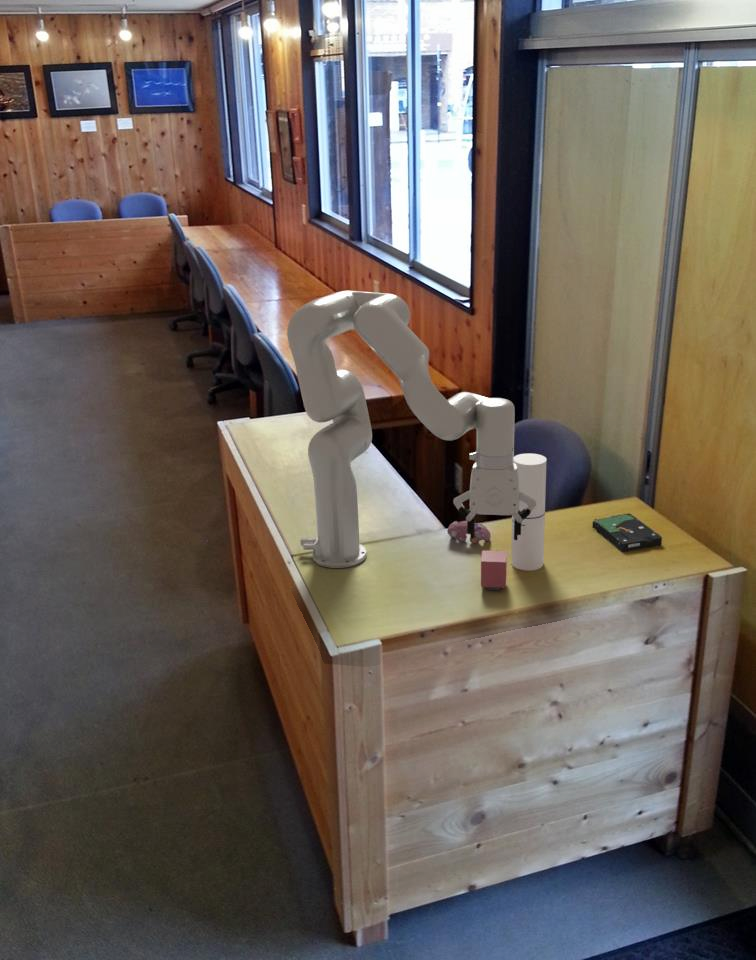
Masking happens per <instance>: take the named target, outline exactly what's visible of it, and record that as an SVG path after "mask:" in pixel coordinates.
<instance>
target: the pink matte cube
mask: <svg viewBox="0 0 756 960" xmlns="http://www.w3.org/2000/svg"><path fill="white" fill-rule="evenodd" d="M507 553H508V551H507V550H482V551H481V557H480V558H481V559H480V587H481V588H488V587H499V588H500V589H501V588H502V589H503V588H504V589H505V588H507V566H508V565H507V560H508V558H507V556H508V554H507Z"/></svg>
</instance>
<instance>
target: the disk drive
mask: <svg viewBox="0 0 756 960" xmlns="http://www.w3.org/2000/svg"><path fill="white" fill-rule="evenodd" d="M594 528H595V529H596V530H597V531H598V532H597V531H596V530H595V529H594ZM592 529H594V530H595V531H596V532H597V533H599V534H600V533H601V534H602V535H603V536H602V535H601V534H600V535H601V536H602V537H603V538H605V540H607V541H608V540H609V541H608V542H609V543H610V544H612V545H613V546H614V545H615V546H614V547H615V548H617V549H618V550H619V551H621V552H622V553H624V552H625V553H626V552H630V551H637V550H643V549H648V548H655V547H661V546H662V545H663V543H662V541H663V537H662V536H661V535H660V534H659V533H657V532H656V531H655V530H653V529H652V528H650V527H649V526H648V525H646V524H645V523H644V522H642V521H641V520H639V519H638V518H637V517H636V516H634V515H633V514H631V513H630V512H629V513H624V514H623V513H622V514H617V515H610V516H609V517H603V518H598V519H597V518H594V519H593V521H592Z"/></svg>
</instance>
